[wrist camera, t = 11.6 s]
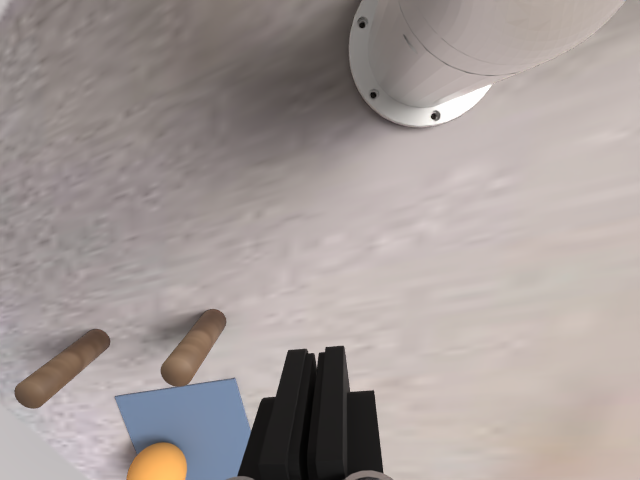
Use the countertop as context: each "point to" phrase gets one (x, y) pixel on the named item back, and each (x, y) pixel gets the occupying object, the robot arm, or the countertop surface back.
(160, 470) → the ball
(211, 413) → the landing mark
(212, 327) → the post
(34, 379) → the post
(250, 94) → the countertop surface
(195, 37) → the countertop surface
